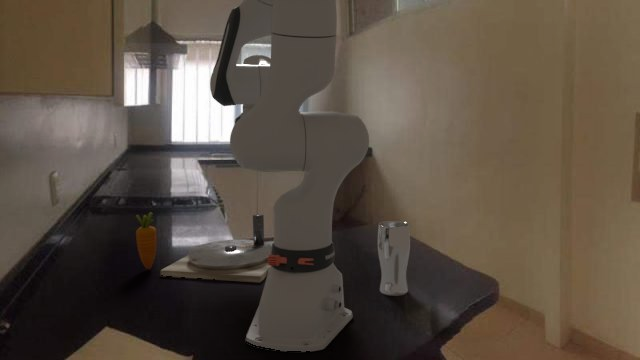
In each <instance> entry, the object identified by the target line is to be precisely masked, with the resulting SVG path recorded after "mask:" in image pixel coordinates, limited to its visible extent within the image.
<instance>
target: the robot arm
mask: <svg viewBox="0 0 640 360" xmlns="http://www.w3.org/2000/svg"><path fill="white" fill-rule="evenodd" d="M337 18H338V17H337V1H336V0H242V2H241V3H240V4H239V5H237V6H236V7H234V8H232V9H231V11H230V13H229V16H228V19H227V21H226V24H225V27H224V31H223V35H222V39H221V43H220V46H219V47H220V48H219V50H218V55H217V58H216V62H215V64H214V67H213V71H212V72H211V76H210V80H209V89H210V93H211V97H212V98H213V99H214V101H216V102H217V103H218V104H220V105H222V106H223V107H228V106H229V107H230V106H236V105H242V112H240V114H239V115H238V116H237V117H236V118H235V120H234V125H233V127H232V129H231V132H230V137H229V147H230V151H231V153H232V157H233V158H234V160H235V162H236V163H237V164H238V165H239V166H240V167H241V168H242V169H244V170H251V171H257V172H263V173H265V172H266V173H277V172H278V173H281V172H283V173H284V172H304V175H303V178H302V180H301V182H300V183H299V184H298V185H297V186H296V187H294V188H292V189H290V190H288V191H286V192H285V193H283V194H281V196H279V198H277V199H276V201H275V203H274V206H273V209H272V215H273V217H272V220H273V225H272V226H273V243H272V244H271V246H272V251H271V254H269V256H268V257H269V258H268V264H269V266H272V267H271V268H270V269H269V270H268V275H267V277H266V279H265V283H264V286H263V288H262V289H263V290H262V294H261V295H260V300H259V305H258V307H257V309H256V310H255V314H254V316H253V318H252V321H251V323H250V325H249V328H248V330H247V333H246V337H245V342H246V341H247V342H249V343H251V344H253V345H256V346H261V347H265V348H271V349H275V350H274V351H276V350H280V351H279V352H287V351H301V352H300V353H306V351H310V352H316V351H322V350H324V349H326V348H327V346H328V345H329V344H330V343H331V342H332V340H334V339H335V337H337V336H338V334H339V333H340V332H341V331H342V330H343V329H344V328H345V326H346V325H348V323H350V321H351V320H352V319H353V318H354V317H353V312H352V310H350V309H348V308H346V307H345V300H344V299H345V296H344V286H343V285H344V281H343V279H344V278H343V274H342V272H341V270H339V269H337V267H336V265H335V264H334V262H335V259H336V258H335V254H336V251H335V249H336V248H335V243H334V242H333V241H332V240H333V236H332V235H333V232H332V229H333V226H332V225H333V210H334V204H335V203H334V202H335V199H336V196H337V192H338V190H339V188H340V187H341V184H342V183H343V181H344V180H345V179H346V177H347V176H348V175H349V173H350V172H351V171H352V170H353V169H355V168H356V167H357V166H358V165H360V163H361V162H363V160H364V159H365V157H366V155H367V152H368V150H369V145H370V136H369V132H368V129H367V126H366V124H365V123H364V121H363V120H362V118H360V117H359V116H357V115H354V114H350V113H346V112H340V111H300V110H301V106H302V105H303V104H304V103H305V102H306V100H308V99H309V98H310V97H312V96H314V95H316V94H319V93H320V92H322V91H324V90H325V89H326V88H327V87H329V85H330V84H331V82H332V80H333V78H334V76H335V65H336V63H335V62H336V49H337V48H336V46H337V45H336V44H337V25H338V24H337V23H338V22H337ZM264 37H270V41H271V45H270V46H271V47H270V57H269V56H268V55H267V56H266V55H263V54H255V55H250V56H247V57H246V58H244V60H243V61H242V62H243V63H242V64H238V60H239V56H240V53H241V50H242V48H243V47H244V46H245V45H246V44H248V43H251V42H252V41H255V40H258V39H261V38H264Z"/></svg>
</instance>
